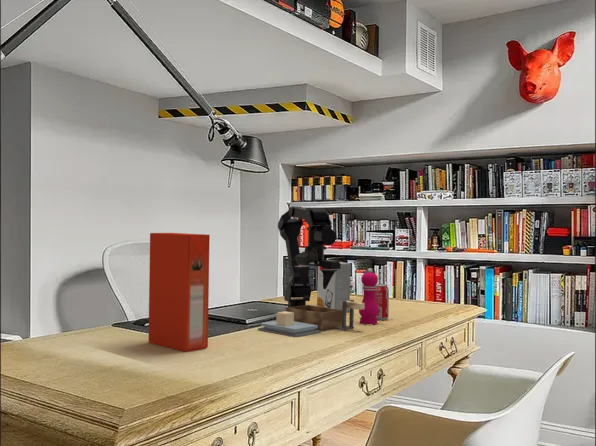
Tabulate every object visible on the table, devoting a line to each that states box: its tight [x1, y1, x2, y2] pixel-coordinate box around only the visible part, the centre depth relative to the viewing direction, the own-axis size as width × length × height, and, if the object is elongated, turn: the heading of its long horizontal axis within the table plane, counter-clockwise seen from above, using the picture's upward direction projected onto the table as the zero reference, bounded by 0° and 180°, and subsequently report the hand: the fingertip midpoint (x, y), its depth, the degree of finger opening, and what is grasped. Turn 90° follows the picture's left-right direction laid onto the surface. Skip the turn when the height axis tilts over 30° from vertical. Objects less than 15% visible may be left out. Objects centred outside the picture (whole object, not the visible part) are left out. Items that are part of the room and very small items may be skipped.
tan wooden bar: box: [341, 301, 365, 311], centre depth 209 cm, size 8×2×2 cm, turn 49°
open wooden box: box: [285, 299, 355, 332], centre depth 214 cm, size 20×13×10 cm, turn 49°
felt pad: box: [257, 326, 322, 338], centre depth 204 cm, size 17×12×1 cm
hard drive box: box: [316, 261, 352, 313], centre depth 255 cm, size 16×8×20 cm, turn 25°
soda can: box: [375, 283, 390, 321], centre depth 234 cm, size 7×7×13 cm
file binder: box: [148, 232, 210, 353], centre depth 177 cm, size 8×17×32 cm, turn 48°
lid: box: [260, 310, 318, 334], centre depth 204 cm, size 15×11×6 cm
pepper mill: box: [358, 267, 379, 325], centre depth 224 cm, size 7×7×20 cm
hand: (314, 287), depth 220 cm, fingers open, 9 cm apart
